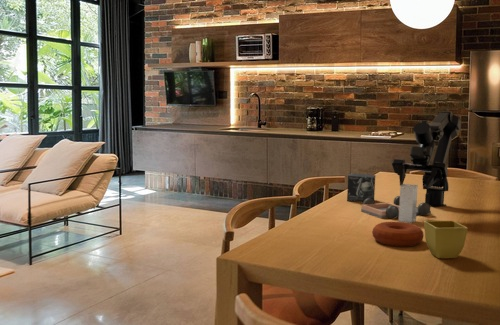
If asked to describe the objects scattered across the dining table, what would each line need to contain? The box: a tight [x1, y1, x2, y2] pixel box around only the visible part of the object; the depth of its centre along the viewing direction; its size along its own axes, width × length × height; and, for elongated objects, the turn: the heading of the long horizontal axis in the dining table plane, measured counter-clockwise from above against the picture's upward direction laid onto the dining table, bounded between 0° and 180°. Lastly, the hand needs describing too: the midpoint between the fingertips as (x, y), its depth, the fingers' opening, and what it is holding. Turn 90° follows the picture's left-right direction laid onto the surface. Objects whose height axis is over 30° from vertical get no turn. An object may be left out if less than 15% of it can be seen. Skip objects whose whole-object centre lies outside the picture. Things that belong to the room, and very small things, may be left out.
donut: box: [371, 221, 425, 248], centre depth 170 cm, size 15×15×5 cm
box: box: [346, 173, 376, 203], centre depth 230 cm, size 11×7×10 cm, turn 74°
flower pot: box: [423, 220, 468, 259], centre depth 155 cm, size 9×9×9 cm
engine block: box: [398, 183, 419, 224], centre depth 195 cm, size 4×4×12 cm
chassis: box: [360, 195, 432, 220], centre depth 209 cm, size 22×15×4 cm
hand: (413, 186), depth 199 cm, fingers open, 9 cm apart
